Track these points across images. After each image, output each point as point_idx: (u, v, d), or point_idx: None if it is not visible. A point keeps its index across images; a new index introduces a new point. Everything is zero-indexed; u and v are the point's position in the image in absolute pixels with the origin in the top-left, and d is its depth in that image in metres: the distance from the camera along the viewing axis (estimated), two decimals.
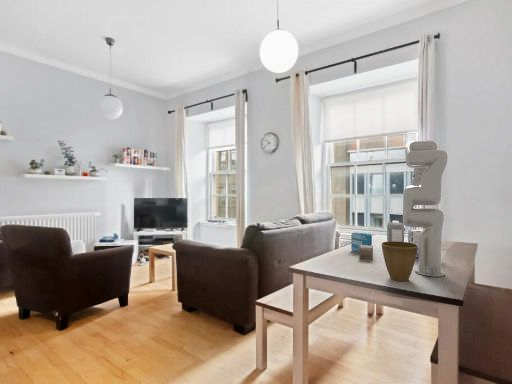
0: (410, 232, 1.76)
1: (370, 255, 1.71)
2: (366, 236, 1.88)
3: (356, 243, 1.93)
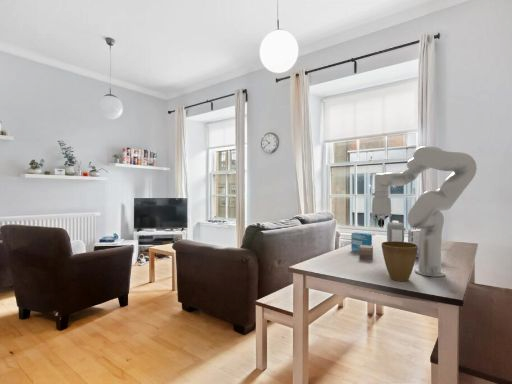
0: (410, 232, 1.76)
1: (370, 255, 1.71)
2: (366, 236, 1.88)
3: (356, 243, 1.93)
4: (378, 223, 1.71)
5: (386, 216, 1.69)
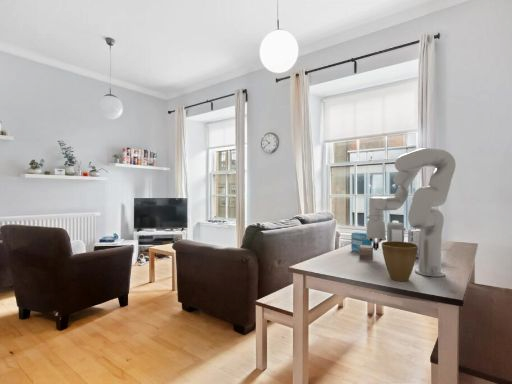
0: (410, 232, 1.76)
1: (370, 255, 1.71)
2: (366, 236, 1.88)
3: (356, 243, 1.93)
4: (373, 246, 1.72)
5: (380, 239, 1.71)
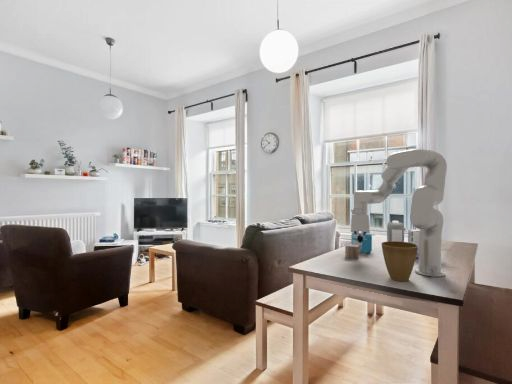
0: (410, 232, 1.76)
1: (353, 248, 1.74)
2: (366, 236, 1.88)
3: (356, 243, 1.93)
4: (357, 239, 1.76)
5: (364, 232, 1.74)
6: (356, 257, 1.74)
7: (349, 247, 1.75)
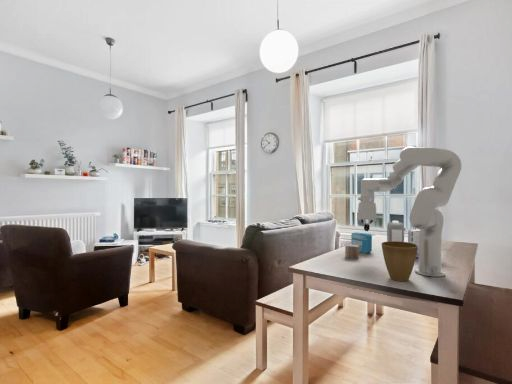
0: (410, 232, 1.76)
1: (353, 248, 1.74)
2: (366, 236, 1.88)
3: (356, 243, 1.93)
4: (364, 227, 1.74)
5: (371, 221, 1.73)
6: (356, 257, 1.74)
7: (349, 247, 1.75)
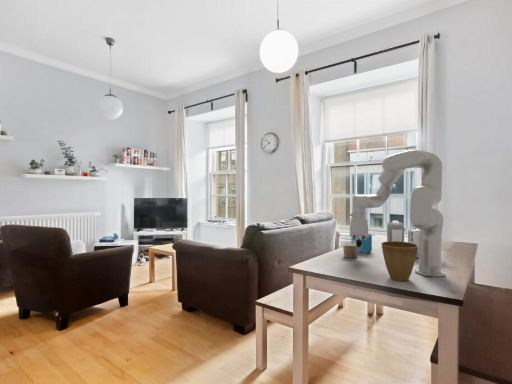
0: (410, 232, 1.76)
1: (351, 247, 1.75)
2: None
3: None
4: (356, 243, 1.76)
5: (363, 237, 1.74)
6: (355, 256, 1.74)
7: (347, 246, 1.76)
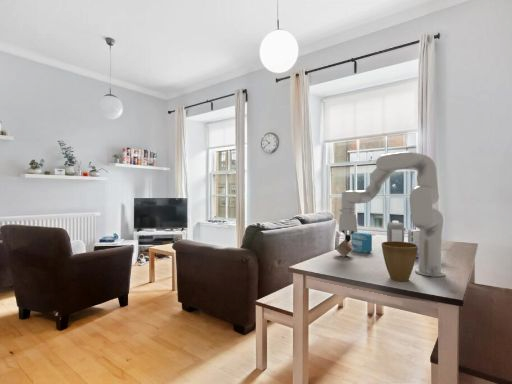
0: (410, 232, 1.76)
1: (341, 245, 1.77)
2: (366, 236, 1.88)
3: (356, 243, 1.93)
4: (345, 238, 1.79)
5: (352, 232, 1.77)
6: (350, 249, 1.75)
7: (338, 247, 1.78)
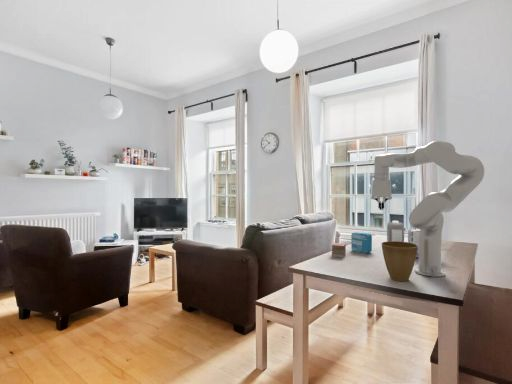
0: (410, 232, 1.76)
1: (333, 249, 1.79)
2: (366, 236, 1.88)
3: (356, 243, 1.93)
4: (378, 206, 1.67)
5: (386, 199, 1.66)
6: (342, 247, 1.77)
7: (333, 252, 1.79)
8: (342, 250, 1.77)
